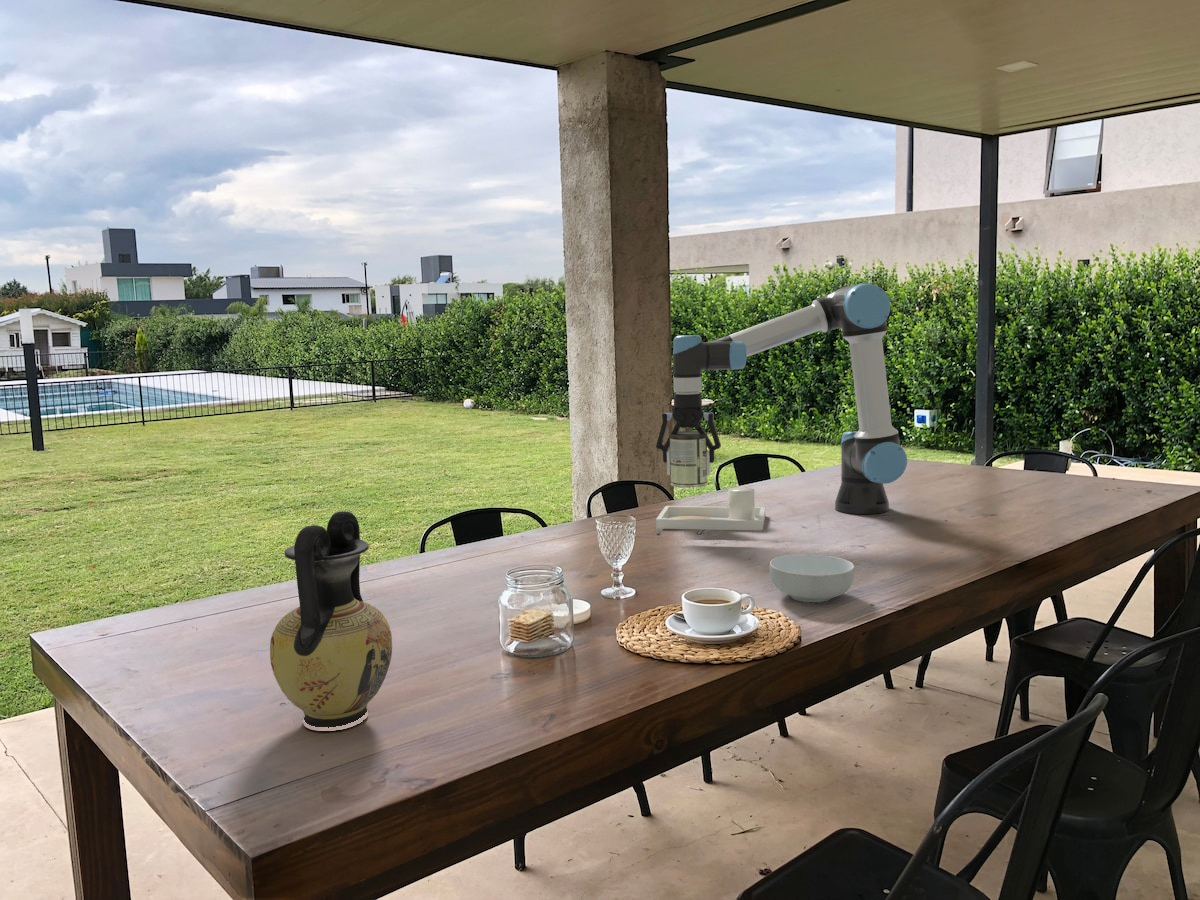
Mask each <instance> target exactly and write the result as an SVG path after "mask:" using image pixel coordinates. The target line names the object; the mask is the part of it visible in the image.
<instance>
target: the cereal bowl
mask: <svg viewBox="0 0 1200 900" xmlns="http://www.w3.org/2000/svg"><path fill="white" fill-rule="evenodd" d="M769 576H770V580H771V582H772V584H773V586H775V588H776V589H778V590H779V591H780V592H781V593H784V594H786V595H787V596H790V598H792V599H793V600H795V601H797V602H802V601H803V602H802V603H810V602H817V603H825V602H828V601H830V600H832V599H833V598H835V597H839V596H841V595H843V594H845V593H846V592H847V591H849V589H850V588H851V586H852V585H853V582H854V578H855V565H854V564H853V562H851V561H849V560H847V559H845V558H842V557H838V556H833V555H824V554H814V553H813V554H812V553H811V554H808V553H801V554H800V553H799V554H798V553H796V554H785V555H781V556H777V557H775V558H773V559H771V560H770V561H769ZM824 601H825V602H824Z"/></svg>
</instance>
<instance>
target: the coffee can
mask: <svg viewBox="0 0 1200 900" xmlns="http://www.w3.org/2000/svg"><path fill="white" fill-rule="evenodd" d="M671 433H672V432H669V434H668V438H669V437H670V446H669V450H670V473H671V474H670V486H672V487H676V488H689V489H690V488H701V487H705V486H707V485H708V484H709V482H708V481H709V480H708V475H707V459H706V452H707V450H708V447H707V445H706V436H708V432H706V433H705V434H699V432H698V430H684V431H683V430H682V431H681V430H680V431H678V432H677V434H676V435H673V434H671Z"/></svg>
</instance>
